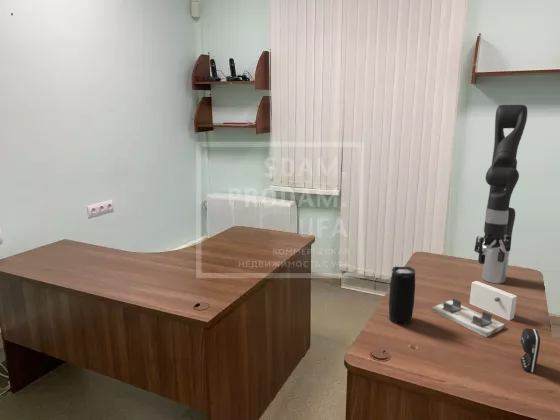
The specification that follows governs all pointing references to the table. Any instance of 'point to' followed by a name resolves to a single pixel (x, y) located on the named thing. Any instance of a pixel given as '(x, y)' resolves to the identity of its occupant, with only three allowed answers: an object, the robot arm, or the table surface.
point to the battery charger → (530, 349)
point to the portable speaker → (402, 294)
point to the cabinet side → (468, 317)
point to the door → (493, 300)
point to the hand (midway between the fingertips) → (490, 262)
